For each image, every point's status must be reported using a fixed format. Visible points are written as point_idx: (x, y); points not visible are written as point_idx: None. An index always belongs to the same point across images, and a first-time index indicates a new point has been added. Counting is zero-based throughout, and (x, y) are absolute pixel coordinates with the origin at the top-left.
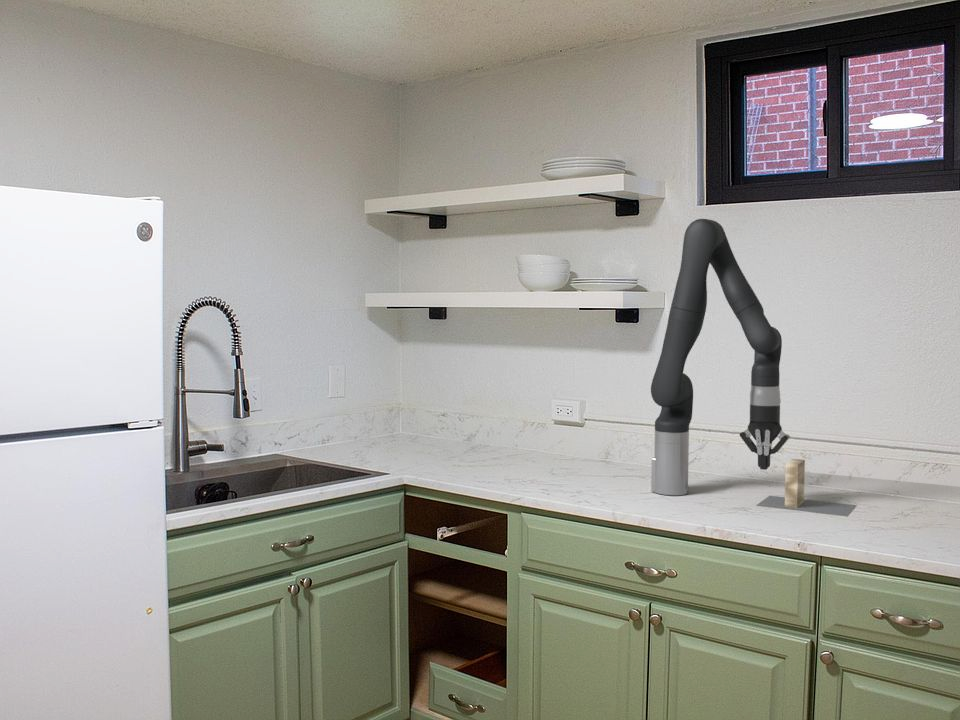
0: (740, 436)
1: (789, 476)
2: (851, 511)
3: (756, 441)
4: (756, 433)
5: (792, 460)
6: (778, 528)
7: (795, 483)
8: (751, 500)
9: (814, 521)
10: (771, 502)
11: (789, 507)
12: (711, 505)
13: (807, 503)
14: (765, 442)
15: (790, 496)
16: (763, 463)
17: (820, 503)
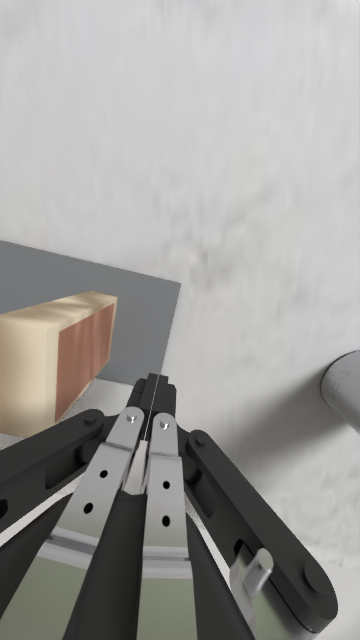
0: (312, 557)
1: (65, 312)
2: None
3: (181, 487)
4: (182, 589)
5: (37, 409)
6: (114, 41)
7: (59, 302)
8: (191, 357)
9: (42, 182)
10: (148, 327)
11: (107, 288)
12: (279, 281)
13: None
14: (115, 472)
15: (94, 298)
16: (154, 386)
17: None
